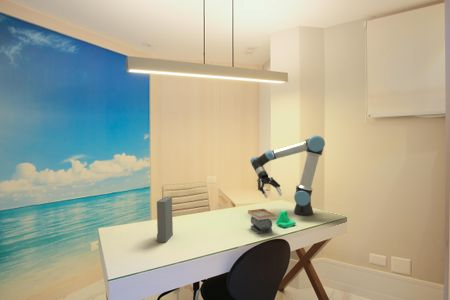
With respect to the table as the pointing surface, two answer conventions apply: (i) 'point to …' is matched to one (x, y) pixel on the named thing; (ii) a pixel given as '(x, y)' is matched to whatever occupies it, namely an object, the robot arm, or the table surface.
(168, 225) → the grey upright slab
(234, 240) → the table surface
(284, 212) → the green piece
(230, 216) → the table surface
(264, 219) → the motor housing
